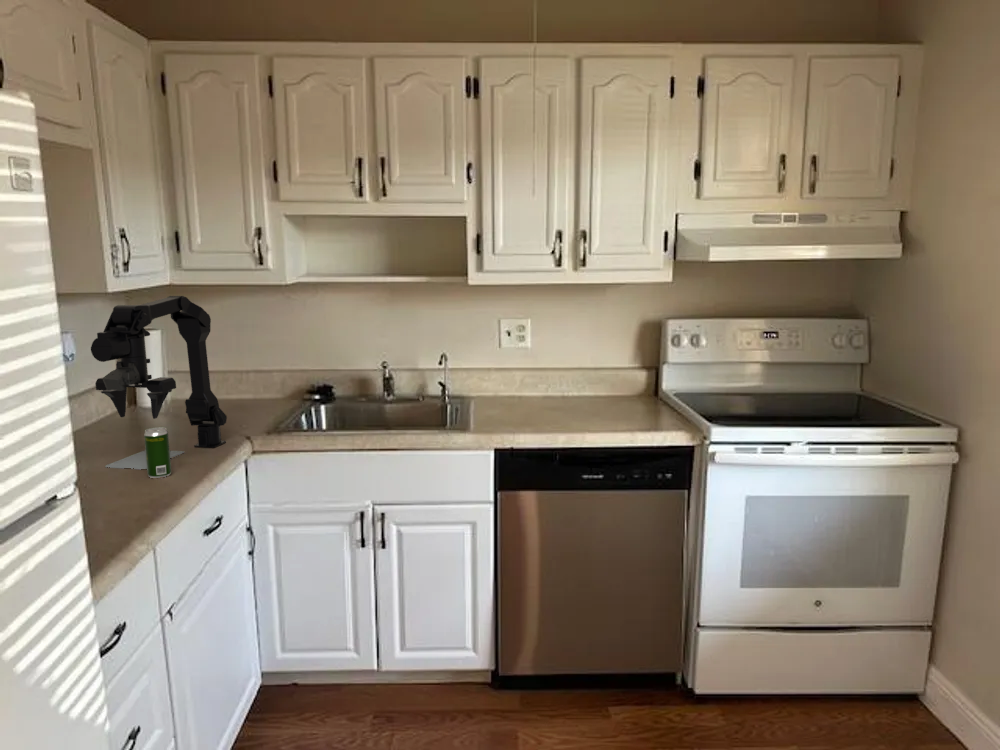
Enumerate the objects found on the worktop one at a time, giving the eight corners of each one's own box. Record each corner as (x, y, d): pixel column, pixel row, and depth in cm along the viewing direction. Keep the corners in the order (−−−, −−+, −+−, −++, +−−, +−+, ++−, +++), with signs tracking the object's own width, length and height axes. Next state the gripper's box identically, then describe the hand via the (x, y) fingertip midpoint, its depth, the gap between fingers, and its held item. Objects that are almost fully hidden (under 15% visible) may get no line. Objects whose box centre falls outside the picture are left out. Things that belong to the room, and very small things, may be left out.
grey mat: (147, 451, 198) (147, 449, 198) (184, 453, 196) (184, 451, 196) (105, 467, 182) (105, 465, 182) (146, 469, 180) (145, 467, 180)
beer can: (175, 475, 175) (171, 429, 173) (152, 480, 171) (148, 433, 169) (166, 471, 179) (162, 426, 177) (144, 476, 175) (140, 429, 173)
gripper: (74, 359, 166) (81, 423, 168) (144, 361, 162) (150, 426, 165) (109, 353, 176) (115, 413, 179) (175, 355, 173) (180, 416, 175)
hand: (138, 417), depth 174 cm, fingers open, 9 cm apart
